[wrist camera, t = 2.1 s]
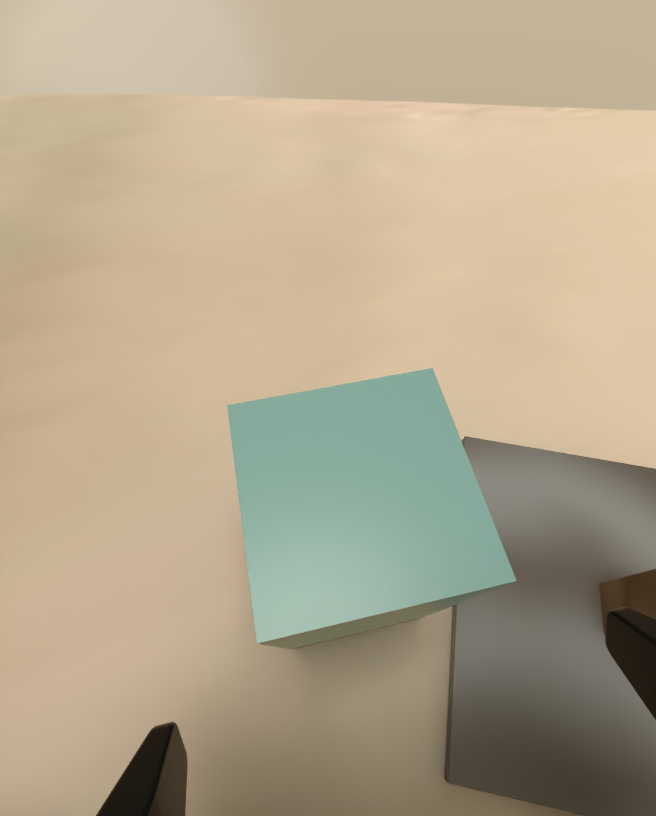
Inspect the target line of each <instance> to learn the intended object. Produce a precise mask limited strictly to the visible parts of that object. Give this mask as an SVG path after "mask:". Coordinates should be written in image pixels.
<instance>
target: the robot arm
mask: <svg viewBox="0 0 656 816" xmlns="http://www.w3.org/2000/svg"><path fill="white" fill-rule="evenodd" d="M605 643H606V646H607V649H608V651H609V653H610V655H611V656H612V658H613V659H614V661H615V662H616V663H617V665H618V666H619V668H620V669H621V671H622V672H623V674H624V675H625V677H626V678H627V679H628V681H629V682H630V684H631V685H632V687H633V688H634V690H635V691H636V693H637V694H638V695H639V697H640V698H641V700H642V701H643V703H644V704H645V706H646V707H647V709H648V710H649V711H650V713H651V714H652V716H653V717H654V719H655V720H656V619H655V618H652V617H650V616H648V615H646V614H643V613H641V612H639V611H637V610H634V609H632V608H629V607H621V608H617V609H613V610H610V611H608V613H607V615H606V631H605ZM186 785H187V754H186V750H185V747H184V744H183V741H182V738H181V735H180V732H179V729H178V726H177V724H176V723H174V722H170V723H166V724H162V725H158V726H155V727H154V728H152V729H151V731H150V732H149V734H148V735H147V737H146V738H145V740H144V741H143V743H142V744H141V746H140V748H139V749H138V751H137V752H136V754H135V755H134V757H133V759H132V760H131V762H130V763H129V765H128V766H127V768H126V770H125V771H124V773H123V774H122V776H121V777H120V779H119V780H118V782H117V784H116V785H115V787H114V788H113V790H112V791H111V793H110V795H109V796H108V798H107V799H106V801H105V802H104V804H103V806H102V807H101V809H100V810H99V812H98V813H97V815H96V816H185V806H186Z"/></svg>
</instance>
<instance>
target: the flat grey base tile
mask: <svg viewBox="0 0 656 816" xmlns="http://www.w3.org/2000/svg"><path fill="white" fill-rule="evenodd" d="M462 444H463V447H464V449H465V452H466V454H467V457H468V459H469V462H470V464H471V467H472V469H473V472H474V474H475V477H476V479H477V482H478V485H479V487H480V490H481V492H482V495H483V497H484V500H485V502H486V505H487V507H488V510H489V512H490V515H491V517H492V520H493V522H494V525H495V528H496V530H497V533H498V535H499V538H500V540H501V543H502V545H503V548H504V550H505V553H506V555H507V558H508V560H509V563H510V565H511V568H512V571H513V573H514V576H515V578H516V581H515V582H513V583H510V584H508V585H505V586H502V587H500V588H497V589H495V590H492V591H489V592H487V593H484V594H482V595H479V596H476V597H474V598H471V599H469V600H466V601H463V602H461V603H458V604H456V605H454V609H453V629H452V649H451V669H450V689H449V709H448V729H447V749H446V769H445V780H446V781H447V782H448V783H451V784H455V785H459V786H463V787H468V788H472V789H476V790H480V791H484V792H489V793H493V794H497V795H501V796H506V797H510V798H514V799H518V800H522V801H527V802H531V803H535V804H539V805H543V806H548V807H552V808H556V809H560V810H565V811H569V812H573V813H577V814H581V815H586V816H656V720H655V719H654V717H653V716H652V714H651V713H650V711H649V710H648V709H647V707H646V706H645V704H644V703H643V701H642V700H641V698H640V697H639V695H638V694H637V693H636V691H635V690H634V688H633V687H632V685H631V684H630V682H629V681H628V679H627V678H626V677H625V675H624V674H623V672H622V671H621V669H620V668H619V666H618V665H617V663H616V662H615V661H614V659H613V658H612V656H611V655H610V653H609V651H608V649H607V646H606V643H605V631H606V615H607V613H608V611H610V610H613V609H617V608H621V607H629V608H632V609H634V610H637V611H639V612H641V613H643V614H646V615H648V616H650V617H652V618H655V619H656V469H653V468H647V467H641V466H636V465H630V464H624V463H618V462H612V461H606V460H600V459H594V458H589V457H583V456H577V455H571V454H565V453H559V452H553V451H548V450H542V449H536V448H530V447H524V446H518V445H512V444H506V443H501V442H495V441H489V440H483V439H477V438H471V437H464V439H463V440H462Z"/></svg>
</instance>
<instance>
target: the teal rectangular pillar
mask: <svg viewBox="0 0 656 816" xmlns="http://www.w3.org/2000/svg"><path fill="white" fill-rule="evenodd" d="M227 407H228V415H229V423H230V431H231V439H232V447H233V455H234V463H235V471H236V480H237V488H238V496H239V504H240V512H241V520H242V528H243V536H244V544H245V553H246V561H247V569H248V577H249V585H250V593H251V601H252V609H253V617H254V626H255V634H256V642H257V644H263V645H269V646H275V647H281V648H287V649H295V648H300V647H304V646H308V645H312V644H316V643H320V642H324V641H328V640H332V639H336V638H341V637H345V636H349V635H353V634H357V633H361V632H365V631H369V630H373V629H377V628H382V627H386V626H390V625H394V624H398V623H402V622H406V621H410V620H414V619H419V618H422V617H424V616H427V615H430V614H432V613H435V612H437V611H440V610H443V609H445V608H448V607H450V606H453V605H456V604H458V603H461V602H463V601H466V600H469V599H471V598H474V597H476V596H479V595H482V594H484V593H487V592H489V591H492V590H495V589H497V588H500V587H502V586H505V585H508V584H510V583H513V582H515V581H516V578H515V576H514V573H513V571H512V568H511V565H510V563H509V560H508V558H507V555H506V553H505V550H504V548H503V545H502V543H501V540H500V538H499V535H498V533H497V530H496V528H495V525H494V522H493V520H492V517H491V515H490V512H489V510H488V507H487V505H486V502H485V500H484V497H483V495H482V492H481V490H480V487H479V485H478V482H477V479H476V477H475V474H474V472H473V469H472V467H471V464H470V462H469V459H468V457H467V454H466V452H465V449H464V447H463V444H462V442H461V439H460V436H459V434H458V431H457V429H456V426H455V424H454V421H453V419H452V416H451V414H450V411H449V409H448V406H447V404H446V401H445V399H444V396H443V393H442V391H441V388H440V386H439V383H438V381H437V378H436V376H435V373H434V371H433V368H431V369H426V370H420V371H415V372H409V373H404V374H398V375H393V376H387V377H382V378H376V379H371V380H365V381H360V382H354V383H349V384H343V385H338V386H332V387H327V388H321V389H315V390H310V391H304V392H299V393H293V394H288V395H282V396H277V397H271V398H266V399H260V400H255V401H249V402H244V403H238V404H233V405H227Z"/></svg>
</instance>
